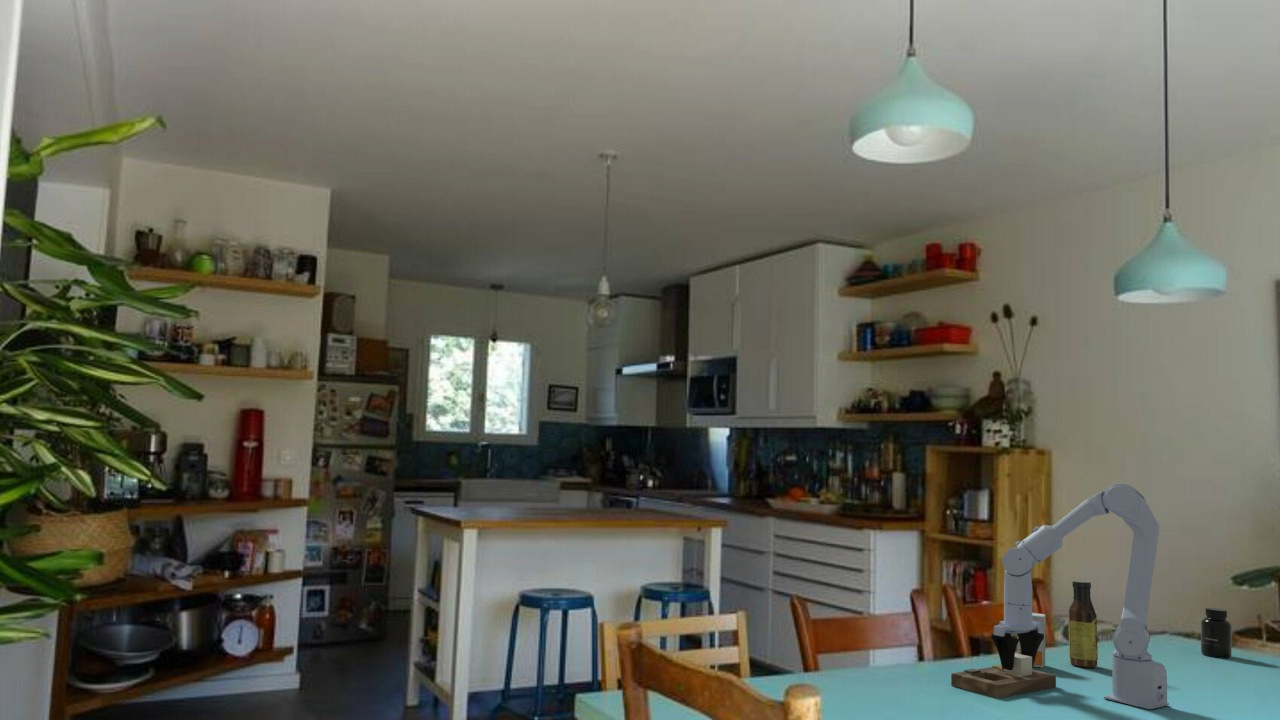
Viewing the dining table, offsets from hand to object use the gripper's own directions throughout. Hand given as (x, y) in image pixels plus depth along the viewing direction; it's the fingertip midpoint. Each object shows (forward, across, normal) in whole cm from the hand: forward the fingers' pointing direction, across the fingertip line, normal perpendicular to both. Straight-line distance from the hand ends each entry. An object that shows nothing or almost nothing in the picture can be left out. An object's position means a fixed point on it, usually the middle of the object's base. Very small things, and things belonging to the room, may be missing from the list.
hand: (1017, 667), depth 201 cm
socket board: (+3, +5, 0) cm, 6 cm away
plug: (+3, 0, 0) cm, 4 cm away
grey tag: (+1, +10, -4) cm, 11 cm away
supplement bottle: (+4, -81, +5) cm, 81 cm away
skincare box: (+4, -21, -10) cm, 24 cm away
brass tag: (+1, 0, -4) cm, 4 cm away
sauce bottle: (+4, -33, -4) cm, 33 cm away
